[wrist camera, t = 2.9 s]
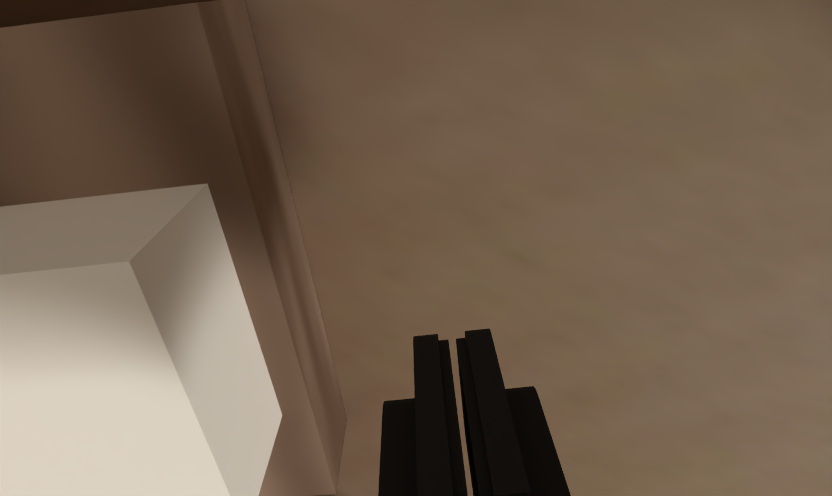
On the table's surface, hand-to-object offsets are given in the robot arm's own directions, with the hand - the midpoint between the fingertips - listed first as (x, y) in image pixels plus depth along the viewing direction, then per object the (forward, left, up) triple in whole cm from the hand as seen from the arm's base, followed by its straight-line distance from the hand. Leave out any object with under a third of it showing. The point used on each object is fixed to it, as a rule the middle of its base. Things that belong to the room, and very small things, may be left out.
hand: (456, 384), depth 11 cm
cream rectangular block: (+11, 0, -4) cm, 11 cm away
